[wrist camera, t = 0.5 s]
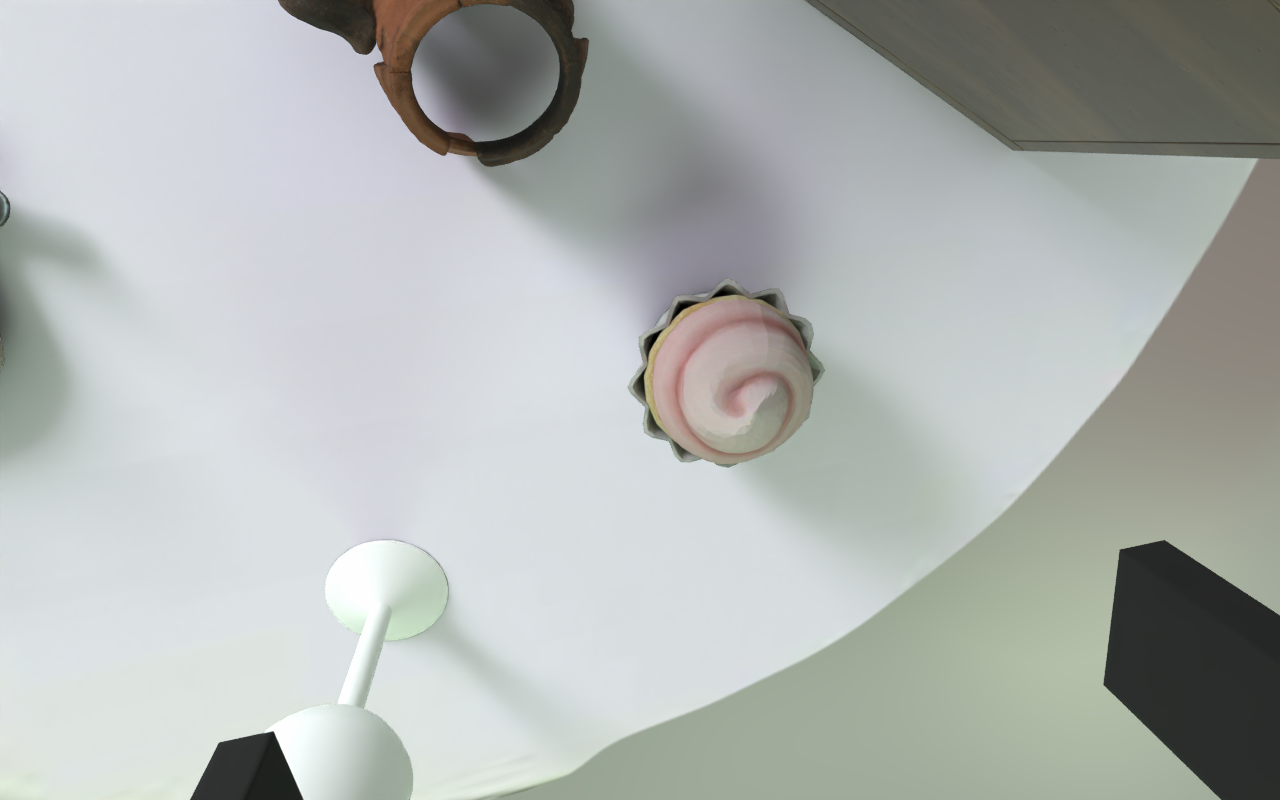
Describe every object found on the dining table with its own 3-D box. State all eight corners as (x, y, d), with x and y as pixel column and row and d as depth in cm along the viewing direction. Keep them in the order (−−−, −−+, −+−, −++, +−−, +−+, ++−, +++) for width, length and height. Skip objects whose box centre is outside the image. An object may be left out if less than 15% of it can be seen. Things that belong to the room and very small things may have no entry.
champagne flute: (461, 627, 42) (380, 1175, 20) (345, 652, 42) (130, 1242, 20) (431, 528, 40) (301, 1026, 18) (308, 553, 39) (14, 1099, 17)
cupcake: (735, 225, 37) (805, 255, 27) (817, 370, 40) (904, 441, 31) (582, 327, 37) (598, 391, 28) (675, 461, 41) (718, 558, 31)
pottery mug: (576, -96, 31) (630, -24, 26) (536, 111, 38) (572, 201, 33) (263, -179, 26) (255, -110, 21) (278, 75, 33) (275, 174, 28)
